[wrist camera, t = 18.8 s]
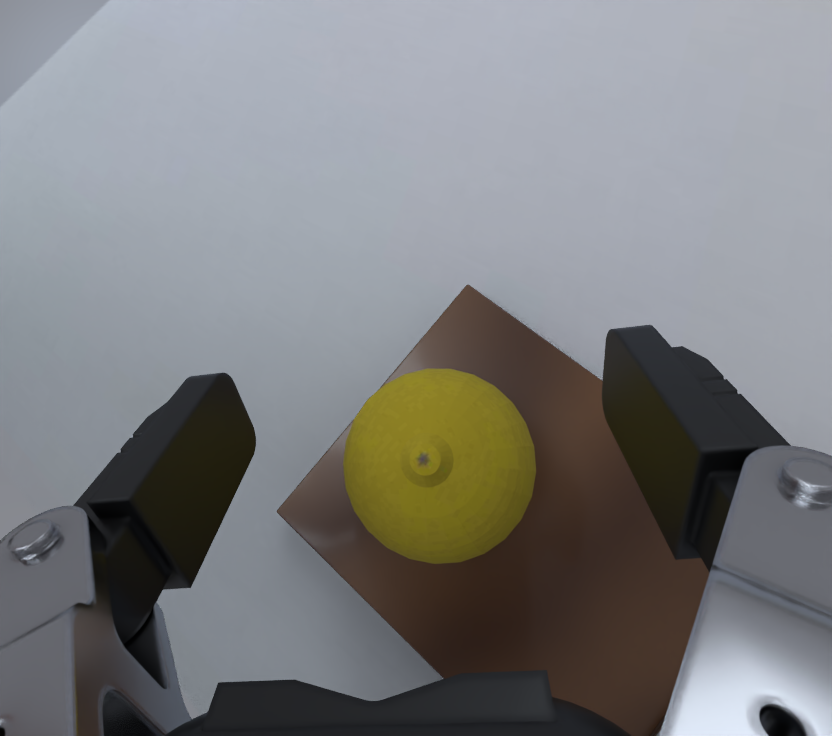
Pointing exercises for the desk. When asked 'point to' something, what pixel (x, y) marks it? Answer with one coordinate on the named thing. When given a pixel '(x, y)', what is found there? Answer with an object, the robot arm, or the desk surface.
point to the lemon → (439, 466)
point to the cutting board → (529, 542)
